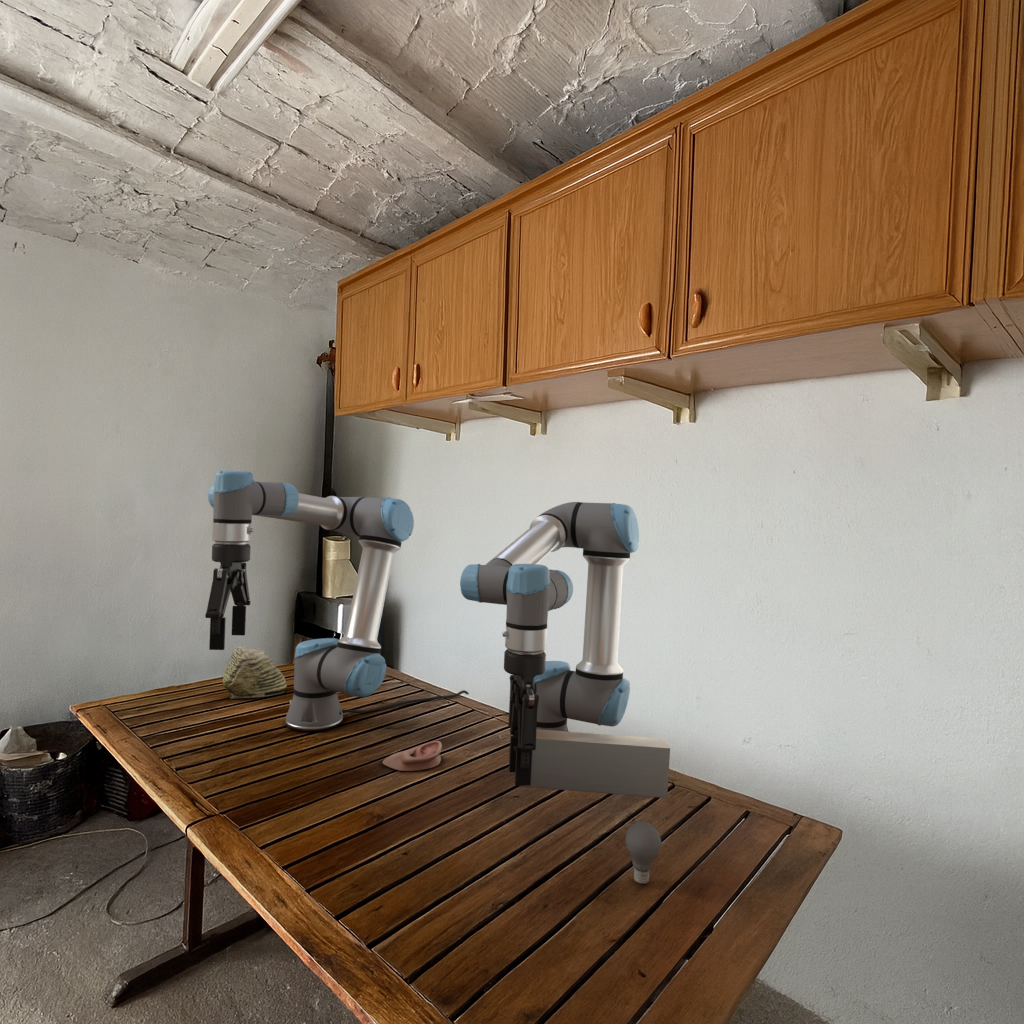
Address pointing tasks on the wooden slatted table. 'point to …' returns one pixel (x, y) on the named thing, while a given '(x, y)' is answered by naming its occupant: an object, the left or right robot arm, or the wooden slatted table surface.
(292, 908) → the wooden slatted table surface
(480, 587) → the right robot arm
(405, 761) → the anatomical model
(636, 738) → the bar
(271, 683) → the fossil
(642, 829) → the light bulb
